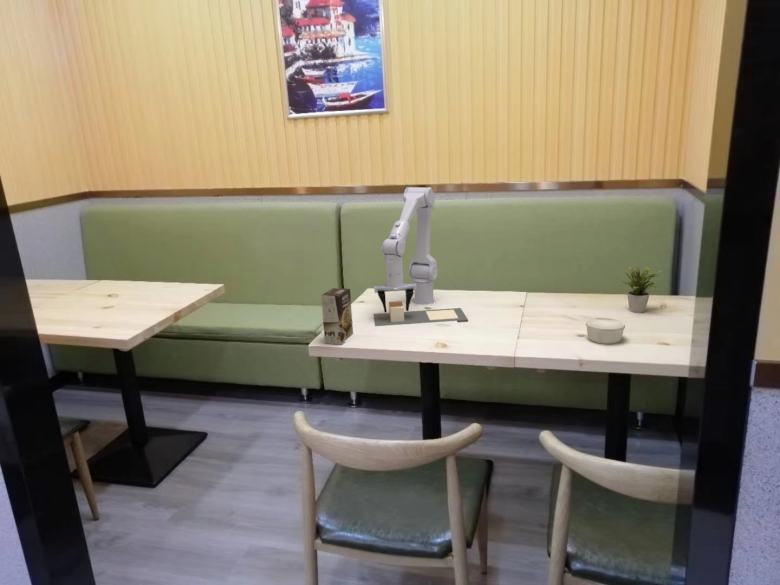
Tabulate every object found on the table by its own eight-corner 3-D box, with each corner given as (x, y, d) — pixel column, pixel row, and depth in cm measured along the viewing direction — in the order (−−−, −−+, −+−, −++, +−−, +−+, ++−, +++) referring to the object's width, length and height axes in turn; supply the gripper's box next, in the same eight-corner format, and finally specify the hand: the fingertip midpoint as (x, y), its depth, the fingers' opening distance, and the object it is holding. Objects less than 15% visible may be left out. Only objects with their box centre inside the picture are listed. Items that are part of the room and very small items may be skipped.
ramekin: (621, 333, 182) (622, 317, 181) (626, 346, 172) (627, 329, 170) (583, 332, 185) (584, 316, 183) (586, 345, 174) (587, 328, 173)
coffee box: (342, 345, 184) (338, 295, 180) (324, 343, 186) (320, 294, 182) (354, 335, 192) (350, 288, 188) (336, 334, 194) (332, 287, 190)
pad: (425, 311, 211) (425, 311, 211) (453, 310, 211) (453, 309, 211) (429, 320, 201) (429, 319, 201) (458, 318, 202) (458, 318, 202)
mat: (373, 315, 212) (373, 313, 212) (460, 309, 214) (460, 307, 213) (375, 327, 198) (375, 326, 198) (468, 321, 200) (468, 319, 200)
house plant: (657, 320, 192) (661, 271, 188) (613, 315, 199) (616, 268, 195) (662, 308, 204) (666, 262, 200) (620, 303, 211) (623, 259, 206)
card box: (389, 315, 209) (388, 301, 208) (402, 314, 209) (401, 301, 208) (391, 322, 201) (390, 308, 200) (404, 321, 202) (403, 307, 200)
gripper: (374, 277, 197) (376, 315, 200) (416, 274, 198) (418, 312, 201) (373, 272, 204) (375, 309, 207) (414, 269, 204) (415, 307, 208)
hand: (396, 310), depth 205 cm, fingers open, 7 cm apart
